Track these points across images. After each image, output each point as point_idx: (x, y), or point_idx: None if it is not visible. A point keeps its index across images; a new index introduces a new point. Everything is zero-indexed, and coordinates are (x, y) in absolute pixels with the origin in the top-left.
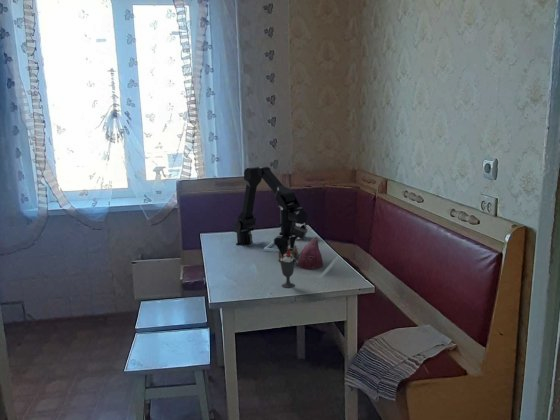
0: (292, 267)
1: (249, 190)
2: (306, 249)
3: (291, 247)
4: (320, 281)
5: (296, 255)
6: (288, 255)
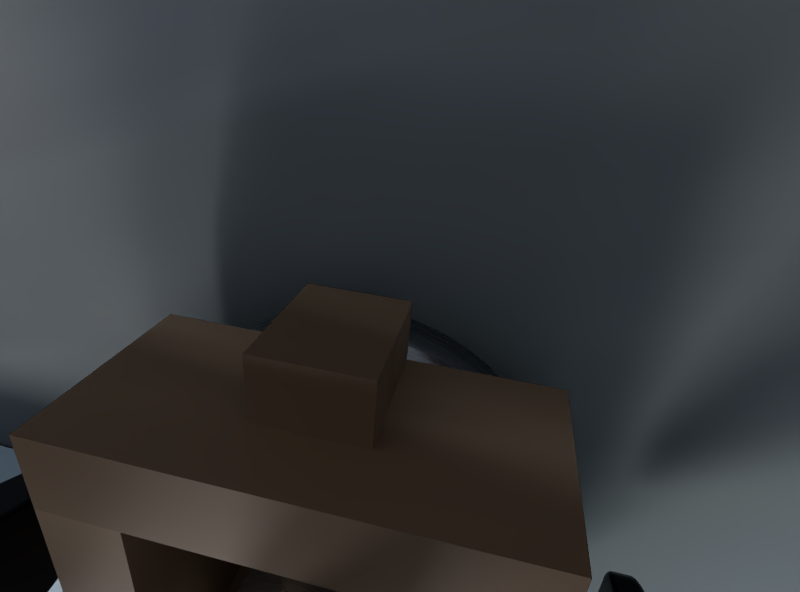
0: None
1: None
2: None
3: (6, 565)
4: None
5: (401, 340)
6: None
